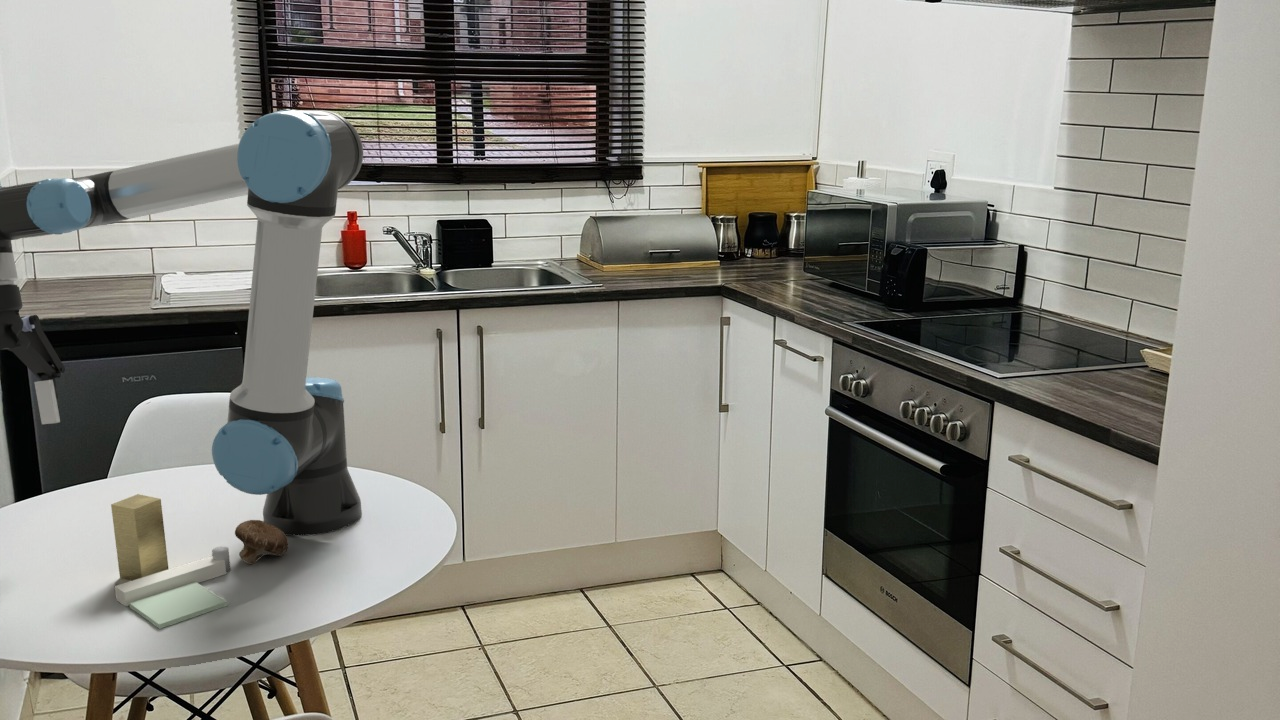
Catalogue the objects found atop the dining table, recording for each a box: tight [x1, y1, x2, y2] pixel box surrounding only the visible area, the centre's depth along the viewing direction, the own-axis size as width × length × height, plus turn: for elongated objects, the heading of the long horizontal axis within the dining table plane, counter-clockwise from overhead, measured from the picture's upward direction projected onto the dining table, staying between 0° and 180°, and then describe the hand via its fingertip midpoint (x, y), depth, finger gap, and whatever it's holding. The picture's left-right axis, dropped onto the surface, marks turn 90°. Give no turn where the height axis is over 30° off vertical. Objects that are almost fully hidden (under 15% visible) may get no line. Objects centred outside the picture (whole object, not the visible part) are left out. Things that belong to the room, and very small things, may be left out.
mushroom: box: [234, 519, 289, 565], centre depth 160 cm, size 8×8×6 cm
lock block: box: [110, 493, 170, 582], centre depth 154 cm, size 4×4×11 cm
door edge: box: [114, 546, 231, 607], centre depth 151 cm, size 15×3×3 cm, turn 137°
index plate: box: [129, 582, 228, 629], centre depth 145 cm, size 9×9×1 cm
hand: (15, 431), depth 159 cm, fingers open, 13 cm apart
